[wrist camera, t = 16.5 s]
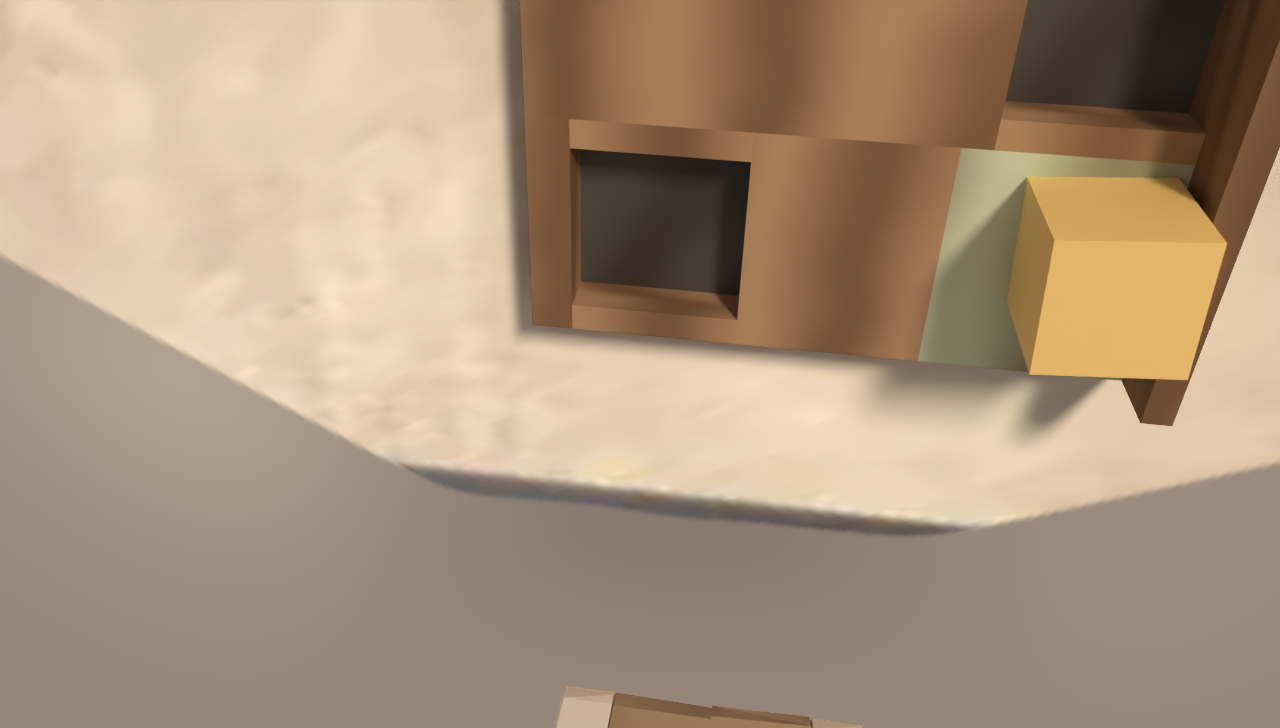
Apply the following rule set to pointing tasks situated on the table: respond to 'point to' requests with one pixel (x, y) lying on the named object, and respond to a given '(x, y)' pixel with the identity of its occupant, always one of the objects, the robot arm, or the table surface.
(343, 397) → the table surface
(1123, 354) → the block
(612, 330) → the box
